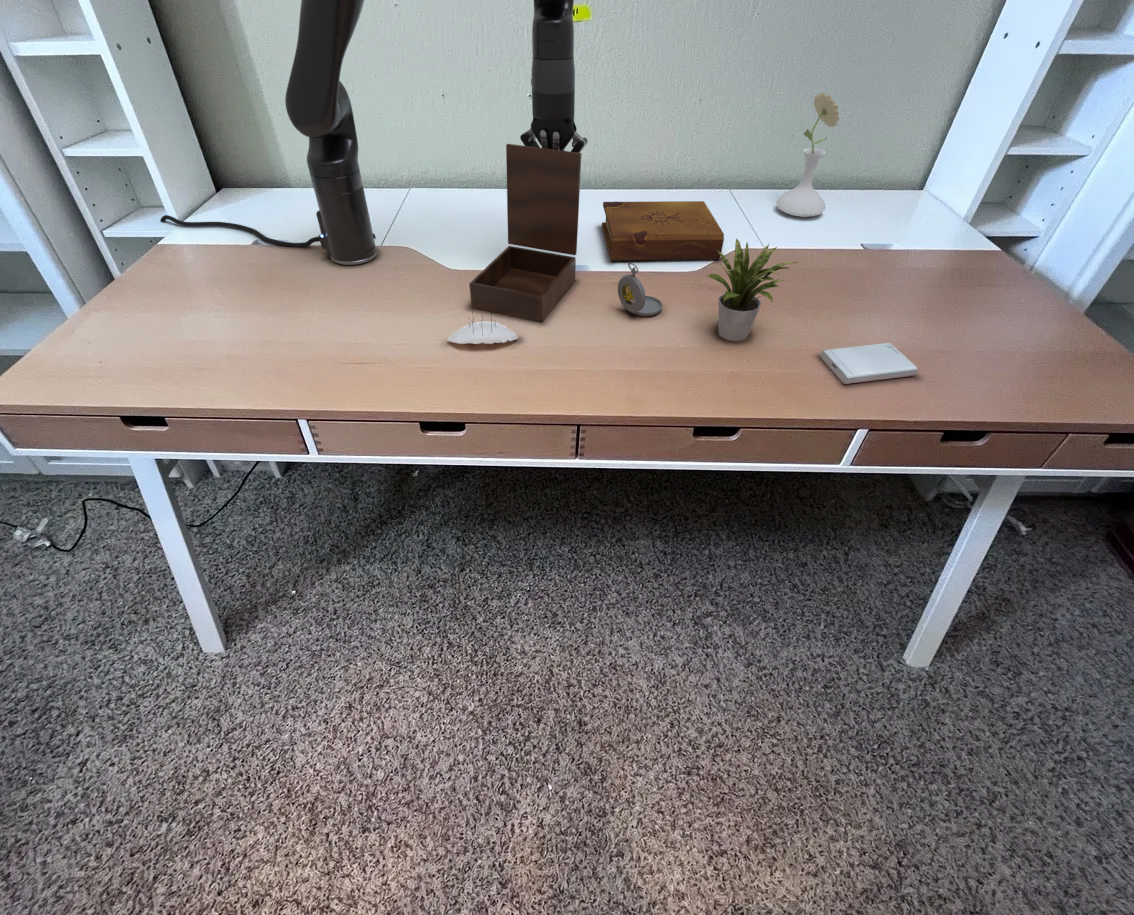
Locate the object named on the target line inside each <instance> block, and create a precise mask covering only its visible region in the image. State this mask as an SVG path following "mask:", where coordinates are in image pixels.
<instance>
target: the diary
mask: <svg viewBox="0 0 1134 915" xmlns="http://www.w3.org/2000/svg"><path fill="white" fill-rule="evenodd" d="M602 207H603V211H604V215H605V222H603V221H602V222H601V229H602V233H603V236H604V240H605V243H606V248H607V251H608V255H609V259H610V261H611V262H613V261H614V262H615V261H616V262H618V261H619V262H624V261H625V262H627V261H628V262H629V261H701V260H703V261H704V260H707V261H709V260H711V261H712V260H713V261H714V260H717V261H718V260H720V259H721V258H722V257H721V256H720V254H719V253H718V251H719V252H721V253H723V251H722V250H723V247H724V242H725V233H724V231H723V230H722V228H721V227H720V225H719V224H718V222H717V220H716V219H715V217H714V215H713V214H712V212H711V210H710V209H709V207H708V205H707V204H706V202H705V201H703V200H694V201H693V200H689V201H687V200H682V201H679V200H678V201H677V200H676V201H672V200H670V201H667V200H666V201H663V200H662V201H659V200H658V201H602ZM717 250H718V251H717Z"/></svg>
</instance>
